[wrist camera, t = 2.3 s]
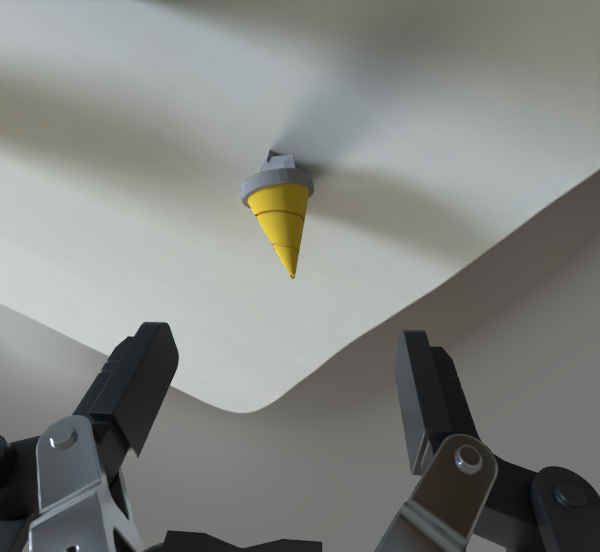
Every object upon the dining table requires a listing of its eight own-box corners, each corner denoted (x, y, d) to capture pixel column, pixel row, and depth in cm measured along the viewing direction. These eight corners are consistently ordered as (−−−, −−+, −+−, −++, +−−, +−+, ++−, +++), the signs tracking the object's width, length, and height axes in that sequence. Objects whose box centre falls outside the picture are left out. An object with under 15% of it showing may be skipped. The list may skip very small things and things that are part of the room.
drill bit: (319, 139, 27) (345, 268, 26) (277, 170, 31) (298, 284, 30) (260, 122, 24) (287, 271, 22) (221, 160, 28) (241, 288, 26)
